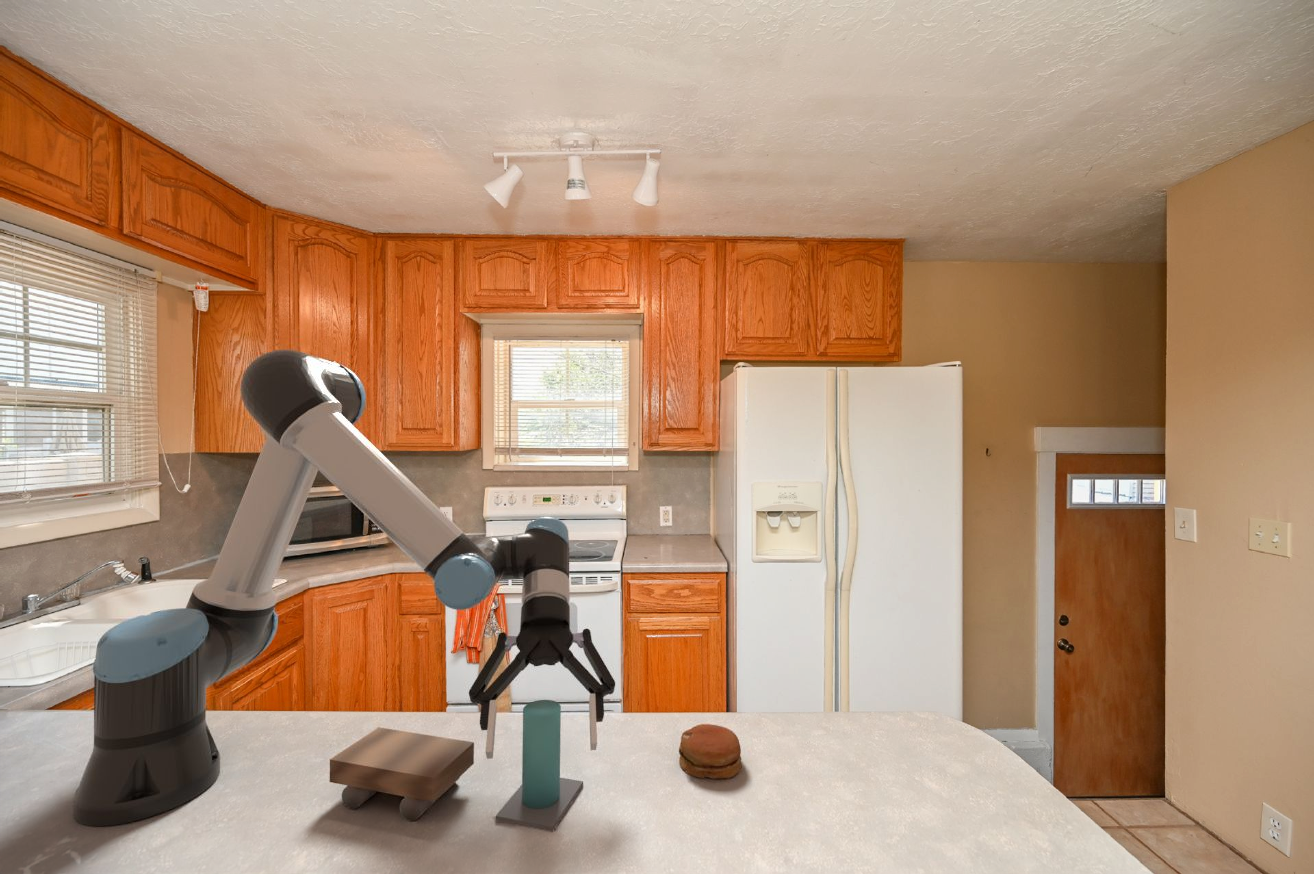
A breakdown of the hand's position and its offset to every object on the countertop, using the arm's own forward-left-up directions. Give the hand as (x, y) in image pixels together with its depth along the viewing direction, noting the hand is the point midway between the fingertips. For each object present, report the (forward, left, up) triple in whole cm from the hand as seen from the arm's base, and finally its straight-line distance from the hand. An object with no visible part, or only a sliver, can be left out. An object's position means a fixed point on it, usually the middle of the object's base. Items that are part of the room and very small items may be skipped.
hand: (542, 751), depth 76 cm
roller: (-1, +1, -7) cm, 7 cm away
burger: (+20, +17, -8) cm, 27 cm away
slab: (-20, -2, -8) cm, 21 cm away
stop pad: (-1, +1, -8) cm, 8 cm away
